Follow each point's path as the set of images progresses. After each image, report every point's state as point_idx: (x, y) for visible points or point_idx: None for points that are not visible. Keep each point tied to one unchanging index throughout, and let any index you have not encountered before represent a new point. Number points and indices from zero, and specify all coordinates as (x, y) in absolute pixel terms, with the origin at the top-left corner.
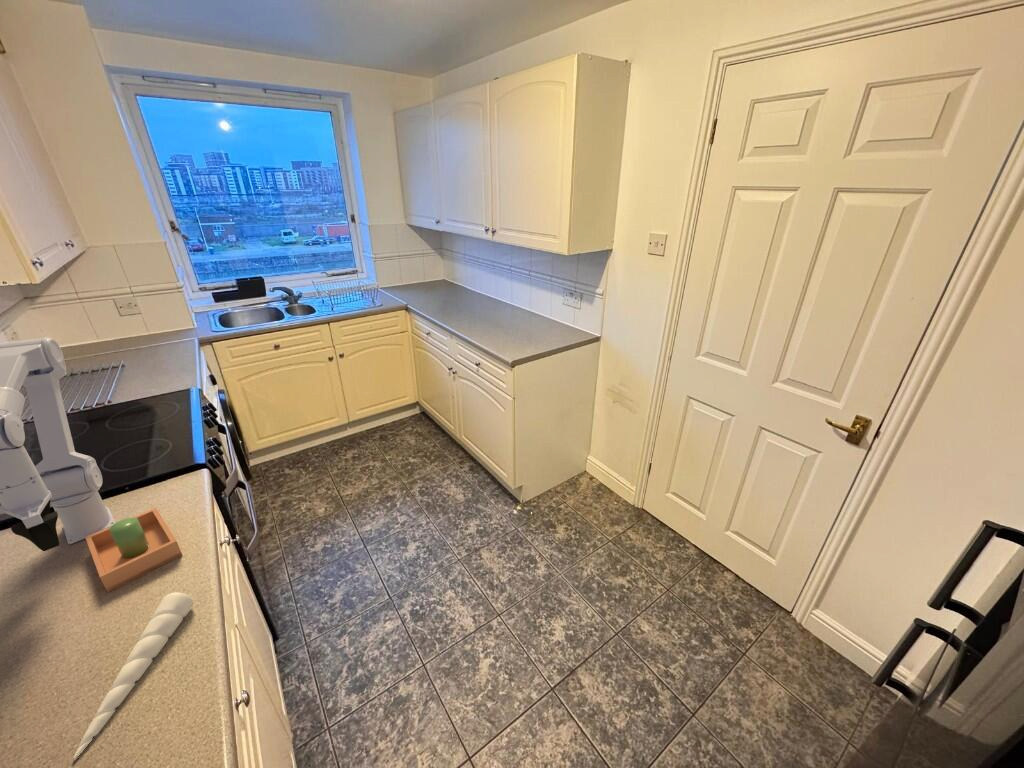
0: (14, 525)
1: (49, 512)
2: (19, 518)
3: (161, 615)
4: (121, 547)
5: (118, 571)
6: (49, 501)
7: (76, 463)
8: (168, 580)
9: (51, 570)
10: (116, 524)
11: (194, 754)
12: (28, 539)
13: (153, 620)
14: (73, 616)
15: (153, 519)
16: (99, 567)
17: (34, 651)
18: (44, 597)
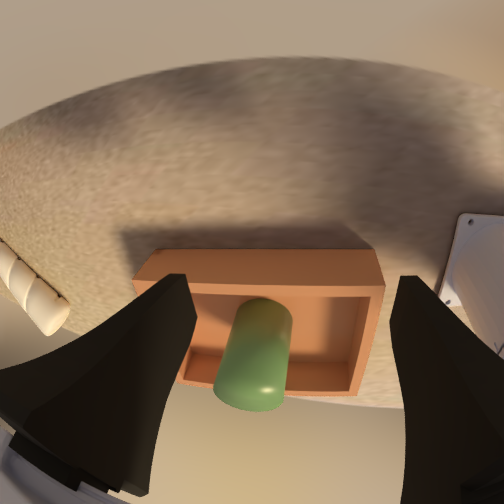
0: (24, 432)
1: (407, 401)
2: (2, 482)
3: (23, 307)
4: (234, 332)
5: None
6: (406, 475)
7: None
8: None
9: (376, 157)
10: (268, 389)
11: None
12: (79, 337)
13: (20, 298)
14: (119, 190)
15: (348, 368)
16: None
17: (68, 134)
18: (242, 133)
